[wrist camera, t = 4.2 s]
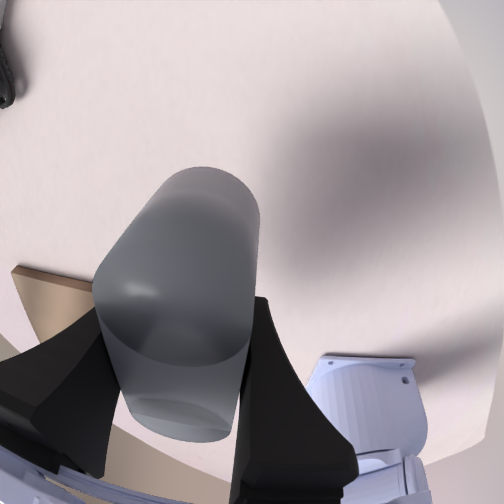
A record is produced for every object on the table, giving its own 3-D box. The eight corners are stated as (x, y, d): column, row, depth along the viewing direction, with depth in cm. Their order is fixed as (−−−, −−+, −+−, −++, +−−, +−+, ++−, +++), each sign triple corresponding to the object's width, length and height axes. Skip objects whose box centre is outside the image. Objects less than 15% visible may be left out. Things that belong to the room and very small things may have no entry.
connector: (267, 174, 10) (266, 259, 6) (232, 388, 17) (223, 464, 13) (152, 161, 10) (79, 232, 6) (165, 377, 17) (146, 450, 13)
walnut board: (185, 300, 22) (182, 310, 21) (188, 387, 28) (186, 395, 28) (16, 265, 21) (10, 272, 21) (51, 352, 28) (48, 359, 27)
